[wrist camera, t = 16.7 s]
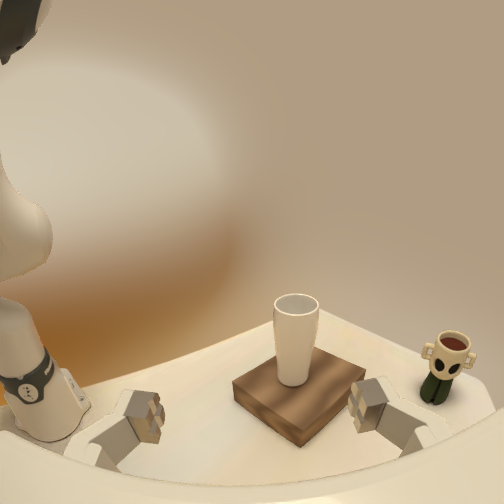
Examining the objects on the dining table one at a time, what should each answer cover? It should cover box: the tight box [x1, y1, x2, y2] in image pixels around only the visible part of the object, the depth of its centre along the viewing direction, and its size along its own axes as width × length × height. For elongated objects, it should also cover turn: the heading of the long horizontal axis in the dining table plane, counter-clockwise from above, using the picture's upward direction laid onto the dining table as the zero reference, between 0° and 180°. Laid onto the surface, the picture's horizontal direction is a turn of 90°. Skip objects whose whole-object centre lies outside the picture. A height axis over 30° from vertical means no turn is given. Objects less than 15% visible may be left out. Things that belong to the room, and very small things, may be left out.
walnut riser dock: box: [232, 347, 366, 448], centre depth 45 cm, size 16×18×5 cm
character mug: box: [420, 330, 477, 404], centre depth 37 cm, size 11×7×13 cm, turn 49°
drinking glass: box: [273, 294, 319, 387], centre depth 42 cm, size 7×7×15 cm
